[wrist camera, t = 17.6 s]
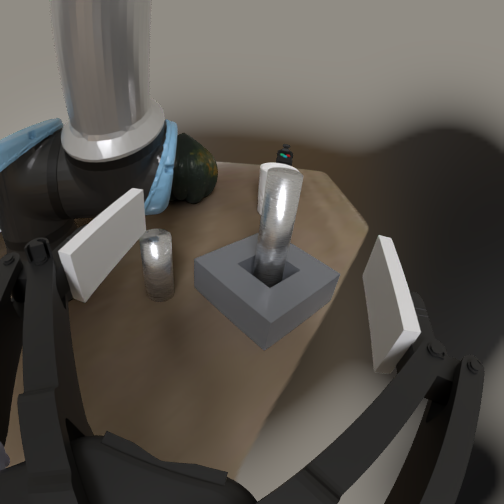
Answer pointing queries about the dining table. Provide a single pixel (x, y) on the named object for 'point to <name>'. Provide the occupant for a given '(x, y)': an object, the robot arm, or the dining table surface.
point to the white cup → (262, 181)
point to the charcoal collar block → (263, 289)
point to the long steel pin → (276, 223)
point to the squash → (192, 171)
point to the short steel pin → (157, 264)
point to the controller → (285, 156)
